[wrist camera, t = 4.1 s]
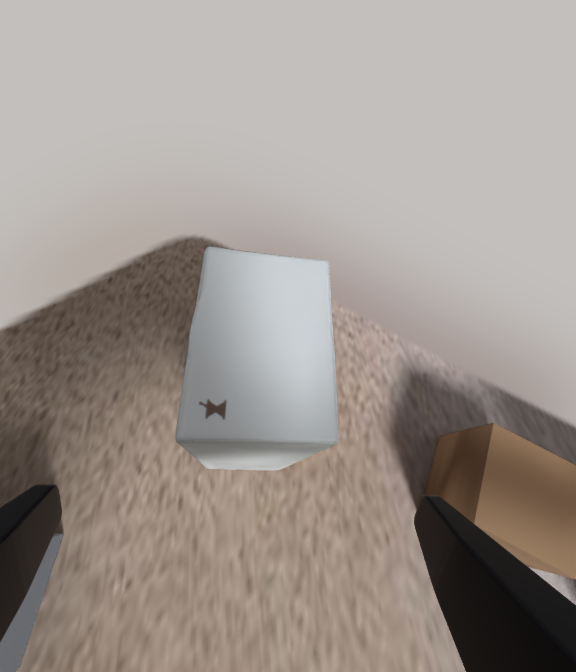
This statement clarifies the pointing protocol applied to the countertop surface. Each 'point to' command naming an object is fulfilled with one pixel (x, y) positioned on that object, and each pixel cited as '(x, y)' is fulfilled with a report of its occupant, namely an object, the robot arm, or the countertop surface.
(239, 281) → the skincare box
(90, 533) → the countertop surface
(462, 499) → the walnut block
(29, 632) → the slate block
